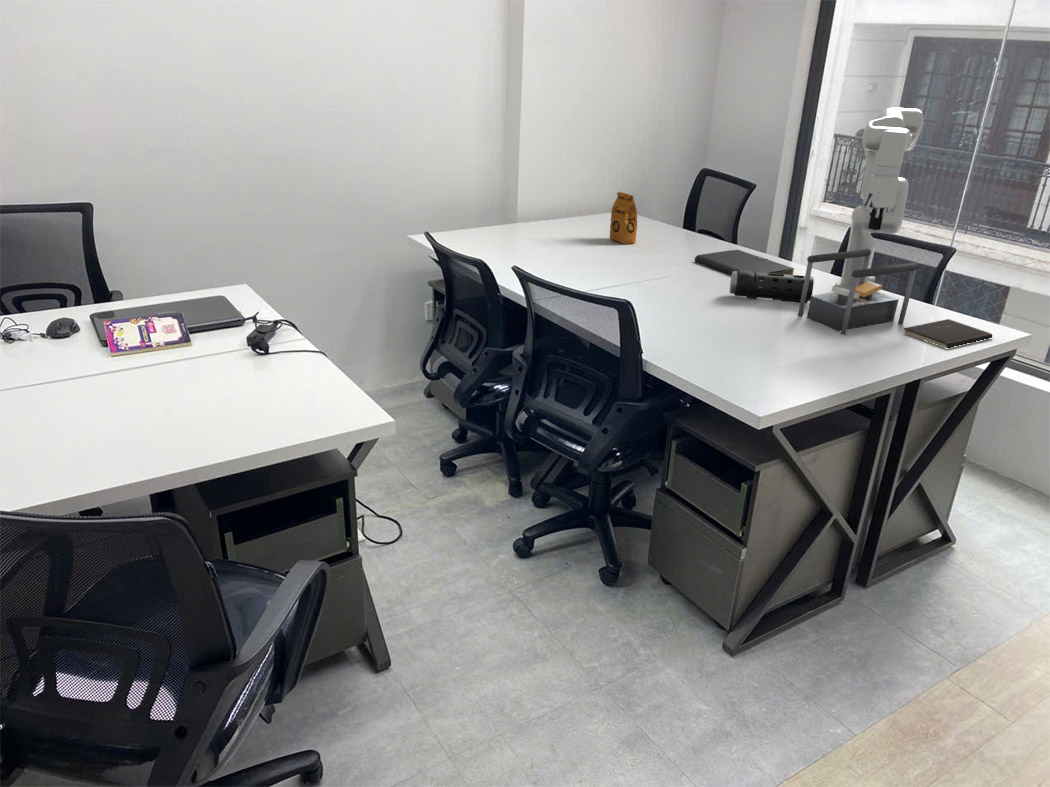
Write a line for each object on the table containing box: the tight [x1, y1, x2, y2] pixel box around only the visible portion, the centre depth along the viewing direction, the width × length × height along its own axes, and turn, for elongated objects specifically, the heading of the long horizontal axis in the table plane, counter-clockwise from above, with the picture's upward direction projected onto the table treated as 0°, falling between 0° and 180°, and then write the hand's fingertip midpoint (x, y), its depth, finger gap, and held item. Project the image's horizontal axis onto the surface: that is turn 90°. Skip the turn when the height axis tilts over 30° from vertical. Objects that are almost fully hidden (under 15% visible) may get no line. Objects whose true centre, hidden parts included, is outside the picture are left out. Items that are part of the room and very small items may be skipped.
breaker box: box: [806, 291, 900, 332], centre depth 262 cm, size 26×14×9 cm, turn 117°
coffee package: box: [609, 191, 638, 245], centre depth 353 cm, size 10×12×22 cm
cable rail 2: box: [840, 262, 919, 336], centre depth 252 cm, size 29×2×21 cm, turn 116°
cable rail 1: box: [797, 249, 871, 318], centre depth 267 cm, size 29×2×21 cm, turn 116°
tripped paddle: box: [855, 281, 883, 297], centre depth 262 cm, size 8×5×2 cm, turn 116°
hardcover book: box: [903, 319, 993, 349], centre depth 252 cm, size 16×23×2 cm
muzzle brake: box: [729, 270, 815, 304], centre depth 280 cm, size 10×28×10 cm, turn 78°
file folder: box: [694, 249, 795, 276], centre depth 320 cm, size 33×4×24 cm
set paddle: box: [830, 286, 860, 298], centre depth 258 cm, size 8×5×2 cm, turn 117°
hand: (874, 228), depth 252 cm, fingers closed
